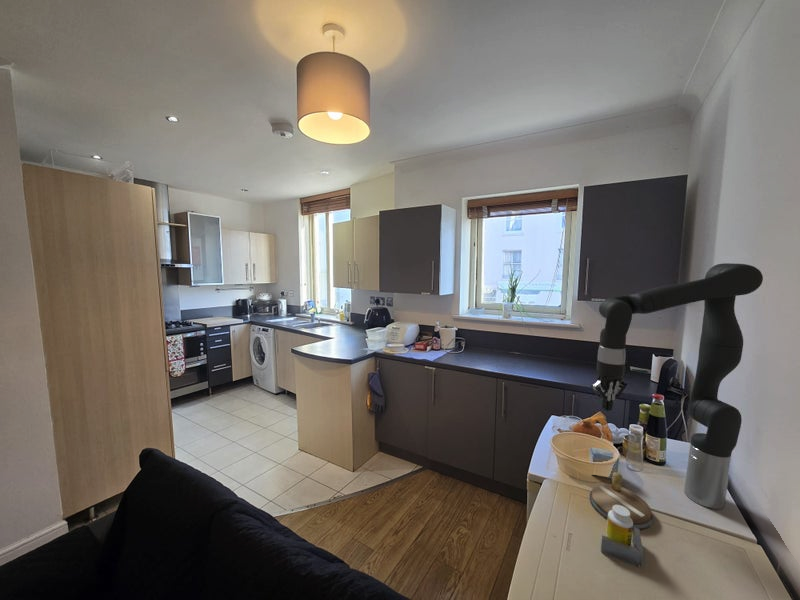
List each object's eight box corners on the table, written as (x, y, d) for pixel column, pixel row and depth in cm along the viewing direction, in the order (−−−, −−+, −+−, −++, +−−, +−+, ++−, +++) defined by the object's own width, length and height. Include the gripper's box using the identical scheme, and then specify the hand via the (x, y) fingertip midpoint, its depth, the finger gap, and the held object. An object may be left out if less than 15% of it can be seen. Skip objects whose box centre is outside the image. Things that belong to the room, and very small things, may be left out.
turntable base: (617, 485, 107) (617, 483, 107) (666, 524, 92) (667, 521, 92) (577, 494, 104) (578, 491, 103) (622, 535, 88) (622, 532, 88)
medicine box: (613, 472, 114) (615, 450, 113) (617, 481, 110) (619, 458, 109) (588, 468, 116) (590, 446, 115) (591, 475, 112) (593, 453, 111)
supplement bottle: (629, 557, 82) (633, 522, 80) (604, 545, 85) (607, 511, 84) (631, 543, 86) (634, 509, 84) (607, 531, 89) (610, 499, 88)
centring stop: (634, 539, 87) (636, 526, 86) (659, 561, 80) (660, 547, 80) (598, 549, 84) (599, 535, 83) (620, 572, 78) (622, 558, 77)
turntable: (580, 494, 102) (582, 476, 101) (612, 482, 107) (613, 465, 106) (629, 531, 88) (631, 511, 87) (662, 515, 93) (664, 496, 93)
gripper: (604, 365, 98) (600, 418, 100) (638, 361, 101) (633, 412, 103) (585, 358, 105) (581, 407, 107) (616, 354, 108) (612, 402, 111)
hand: (607, 409), depth 105 cm, fingers closed
